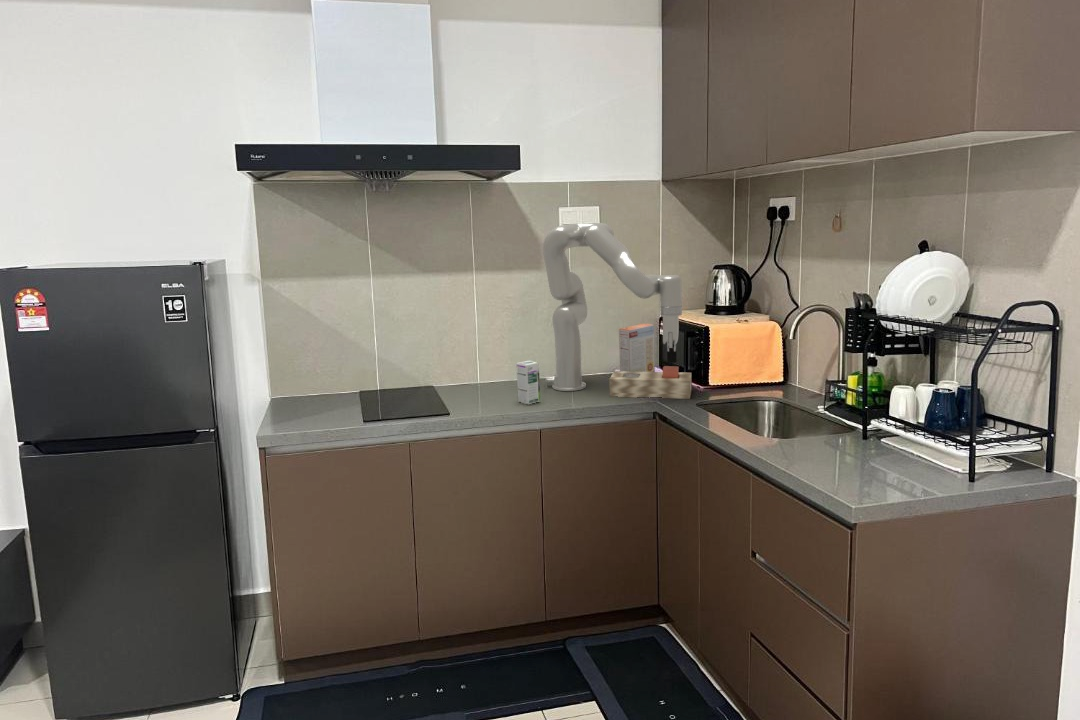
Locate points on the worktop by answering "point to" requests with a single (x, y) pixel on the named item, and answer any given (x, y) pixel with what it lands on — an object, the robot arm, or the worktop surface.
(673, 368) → the red cube
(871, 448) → the worktop surface
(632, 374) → the grey cube
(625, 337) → the cracker box
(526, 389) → the syrup box
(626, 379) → the beige woven basket
